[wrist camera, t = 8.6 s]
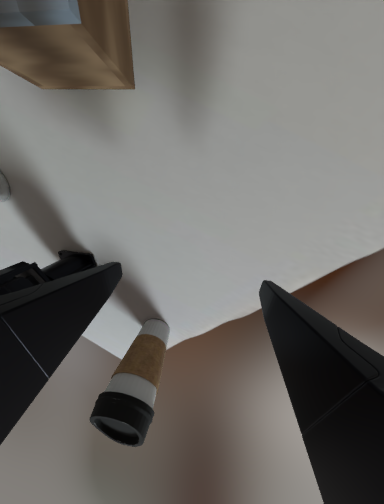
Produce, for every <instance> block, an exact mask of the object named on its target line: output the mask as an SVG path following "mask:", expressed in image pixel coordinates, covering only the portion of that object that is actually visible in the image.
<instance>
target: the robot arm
mask: <svg viewBox="0 0 384 504" xmlns="http://www.w3.org/2000/svg"><path fill="white" fill-rule="evenodd" d="M58 254H59V256H60V259H61V260H59V261H57V262H55V263H53V264H51V265H49V266H47V267H45V268H43V269H40V268H39V267H38V266H37V264H36V263H35V262H34V263H32V264H29V263H26V262H23V261H22V262H20V263H17V264H15V265H12V266H10V267H7V268H5V269H2V270H0V445H1V443H2V442H3V441H4V439H5V438H6V437H7V435H8V434H9V433H10V431H11V430H12V428H13V427H14V426H15V424H16V423H17V422H18V420H19V419H20V418H21V416H22V415H23V414H24V412H25V411H26V410H27V408H28V407H29V406H30V404H31V403H32V401H33V400H34V399H35V397H36V396H37V395H38V393H39V392H40V390H41V389H42V388H43V387H44V385H45V384H46V382H47V381H48V378H50V377H51V376H52V374H53V373H54V371H55V370H56V369H57V367H58V366H59V365H60V363H61V362H62V360H63V359H64V358H65V357H66V355H67V354H68V352H69V351H70V350H71V348H72V347H73V346H74V344H75V343H76V342H77V340H78V339H79V338H80V336H81V335H82V334H83V332H84V331H85V329H86V328H87V327H88V325H89V324H90V323H91V321H92V320H93V319H94V317H95V316H96V315H97V313H98V312H99V311H100V309H101V308H102V306H103V305H104V304H105V302H106V301H107V300H108V298H109V297H110V295H111V294H112V292H113V290H114V289H115V287H116V285H117V284H118V282H119V280H120V279H121V277H122V268H121V264H120V263H119V262H111V263H108V264H104V265H101V266H98V267H96V264H95V260H94V257H93V255H92V254H86V253H78V252H70V251H62V250H61V251H59V252H58ZM259 296H260V301H261V306H262V311H263V316H264V320H265V323H266V326H267V329H268V332H269V336H270V339H271V342H272V345H273V348H274V351H275V354H276V357H277V360H278V363H279V366H280V369H281V372H282V376H283V378H284V382H285V385H286V388H287V391H288V394H289V397H290V400H291V403H292V406H293V409H294V412H295V415H296V418H297V422H298V425H299V428H300V431H301V433H302V438H303V441H304V444H305V447H306V450H307V453H308V456H309V459H310V462H311V465H312V468H313V471H314V474H315V478H316V480H317V484H318V486H319V490H320V493H321V495H322V499H323V502H324V504H384V356H382V355H380V354H379V353H377V352H376V351H374V350H373V349H371V348H370V347H368V346H367V345H365V344H363V343H362V342H360V341H359V340H357V339H356V338H354V337H353V336H351V335H350V334H348V333H347V332H345V331H344V330H342V329H341V328H340V327H337V326H336V325H335V324H334V323H332V322H331V321H329V320H327V319H326V318H325V317H323V316H322V315H320V314H319V313H317V312H316V311H315V310H313V309H312V308H310V307H309V306H307V305H306V304H304V303H303V302H301V301H300V300H298V299H297V298H295V297H294V296H292V295H291V294H290V293H288V292H287V291H285V290H284V289H282V288H281V287H279V286H278V285H276V284H275V283H273V282H272V281H267V280H264V281H263V282H262V285H261V288H260V291H259Z"/></svg>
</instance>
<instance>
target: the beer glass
mask: <svg viewBox="0 0 384 504" xmlns="http://www.w3.org/2000/svg"><path fill="white" fill-rule="evenodd" d="M9 195H10V189H9V185H8V183H7V180H6V179H5V177H4V175H3V174H2V173H1V171H0V202H2V201H6V200H7V199H8V198H9Z"/></svg>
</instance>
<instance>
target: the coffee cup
mask: <svg viewBox="0 0 384 504" xmlns="http://www.w3.org/2000/svg"><path fill="white" fill-rule="evenodd" d="M169 332H170V329H169V327H168V325H167V324H166V323H164V322H163V321H161V320H157V319H150V320H147V321H146V322H145V323H144V325H143V327H142V328H141V330H140V332H139V334H138V335H137V337H136V338H135V340H134V341H133V343H132V345H131V346H130V348H129V350H128V351H127V353H126V354H125V356H124V358H123V359H122V361H121V362H120V364H119V366H118V367H117V369H116V371H115V372H114V374H113V375H112V378H111V381H110V383H109V385H108V386H107V388H106V390H105V391H104V392H103V393H101V394H100V395H99V397H98V399H97V401H96V403H95V407H94V409H93V412H92V414H91V417H90V422H91V423H92V424H93V425H94V426H95V427H96V428H97V429H98V430H99V431H101V432H102V433H103V434H105V435H106V436H107V437H109V438H110V439H112V440H114V441H115V442H117V443H120V444H123V445H127V446H133V447H137V446H141V445H142V444H143V442H144V439H145V437H146V434H147V431H148V428H149V425H150V424H151V422H152V418H153V416H154V411H153V405H154V400H155V396H156V394H157V392H158V387H159V382H160V377H161V372H162V367H163V362H164V357H165V352H166V346H167V342H168V337H169Z"/></svg>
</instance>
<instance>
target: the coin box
mask: <svg viewBox="0 0 384 504" xmlns="http://www.w3.org/2000/svg"><path fill="white" fill-rule="evenodd" d="M0 65H1V66H2V67H4V68H6V69H8V70H9V71H11V72H13V73H15V74H17V75H18V76H20V77H22V78H24V79H25V80H27V81H29V82H31V83H33V84H34V85H36V86H38V87H40V88H41V89H135V84H134V72H133V60H132V48H131V36H130V24H129V12H128V0H0Z"/></svg>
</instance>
